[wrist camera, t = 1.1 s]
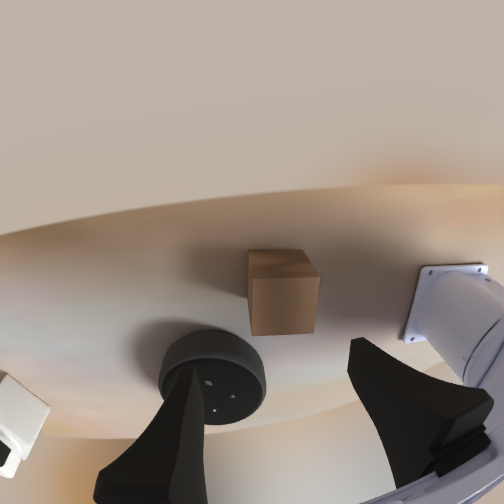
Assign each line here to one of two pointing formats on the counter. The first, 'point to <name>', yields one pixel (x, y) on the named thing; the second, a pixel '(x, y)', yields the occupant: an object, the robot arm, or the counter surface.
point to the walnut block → (281, 292)
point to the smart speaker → (218, 374)
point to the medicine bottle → (18, 423)
